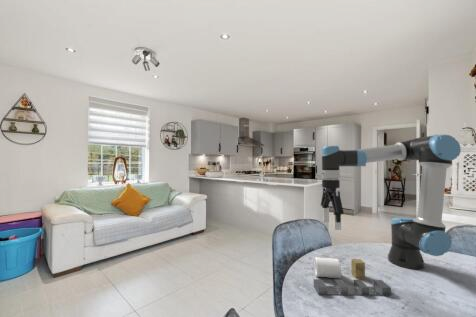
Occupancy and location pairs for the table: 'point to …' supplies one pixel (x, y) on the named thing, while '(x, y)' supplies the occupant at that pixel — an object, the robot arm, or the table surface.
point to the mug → (327, 267)
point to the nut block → (358, 268)
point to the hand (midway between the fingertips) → (331, 225)
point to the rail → (352, 288)
